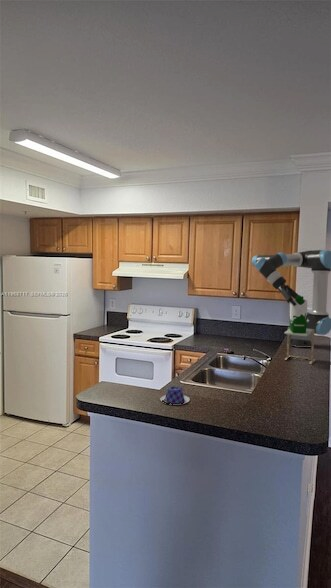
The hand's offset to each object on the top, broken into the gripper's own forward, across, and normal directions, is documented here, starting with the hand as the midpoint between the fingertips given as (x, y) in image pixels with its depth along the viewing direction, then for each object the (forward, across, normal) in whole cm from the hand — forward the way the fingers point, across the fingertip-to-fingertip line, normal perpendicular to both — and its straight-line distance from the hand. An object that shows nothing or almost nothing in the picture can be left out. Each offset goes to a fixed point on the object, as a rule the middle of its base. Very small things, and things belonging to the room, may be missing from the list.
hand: (303, 308), depth 207 cm
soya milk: (+8, 0, -11) cm, 14 cm away
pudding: (+2, +88, -43) cm, 97 cm away
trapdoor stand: (+20, -6, -24) cm, 32 cm away
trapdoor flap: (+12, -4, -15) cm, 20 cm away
